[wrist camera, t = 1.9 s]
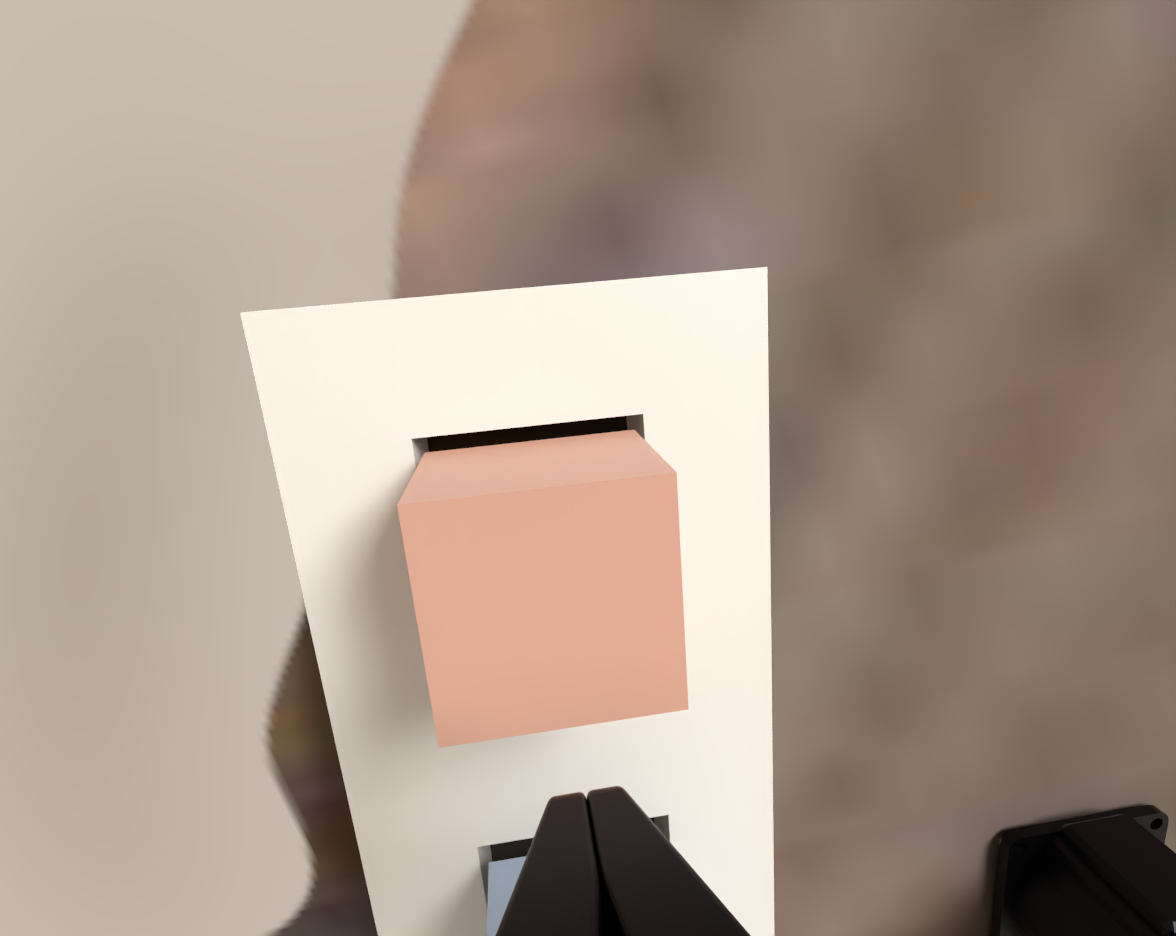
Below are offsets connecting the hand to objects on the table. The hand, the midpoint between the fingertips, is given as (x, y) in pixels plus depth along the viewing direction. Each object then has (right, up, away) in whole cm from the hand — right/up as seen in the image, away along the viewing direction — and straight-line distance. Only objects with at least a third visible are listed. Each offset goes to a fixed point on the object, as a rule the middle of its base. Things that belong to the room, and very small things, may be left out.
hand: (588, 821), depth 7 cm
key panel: (-1, -3, +13) cm, 13 cm away
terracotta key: (-1, +2, +9) cm, 9 cm away
